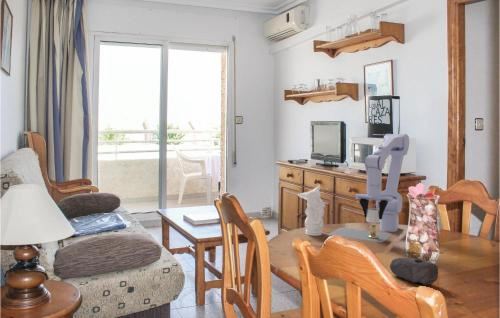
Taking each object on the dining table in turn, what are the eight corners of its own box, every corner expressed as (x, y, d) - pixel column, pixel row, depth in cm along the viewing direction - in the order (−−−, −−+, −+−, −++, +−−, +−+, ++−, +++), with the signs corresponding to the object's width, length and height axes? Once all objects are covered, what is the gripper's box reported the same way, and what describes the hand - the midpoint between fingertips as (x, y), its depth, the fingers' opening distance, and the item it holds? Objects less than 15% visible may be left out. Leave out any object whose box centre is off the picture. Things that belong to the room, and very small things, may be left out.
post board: (340, 230, 195) (340, 216, 195) (392, 237, 183) (393, 222, 183) (326, 238, 182) (327, 223, 181) (382, 246, 170) (383, 229, 169)
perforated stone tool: (385, 275, 136) (385, 253, 136) (395, 272, 139) (395, 251, 139) (429, 290, 124) (430, 266, 124) (439, 286, 127) (440, 262, 127)
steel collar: (368, 219, 181) (369, 207, 180) (381, 221, 178) (381, 208, 177) (364, 221, 176) (365, 209, 176) (377, 223, 173) (378, 210, 173)
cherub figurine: (318, 241, 177) (318, 187, 176) (290, 237, 184) (291, 185, 182) (329, 235, 188) (330, 184, 186) (302, 231, 194) (303, 182, 192)
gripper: (353, 184, 176) (352, 217, 177) (389, 187, 169) (389, 221, 170) (358, 182, 182) (358, 214, 183) (394, 185, 175) (393, 218, 176)
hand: (373, 218), depth 177 cm, fingers closed on steel collar, 5 cm apart
